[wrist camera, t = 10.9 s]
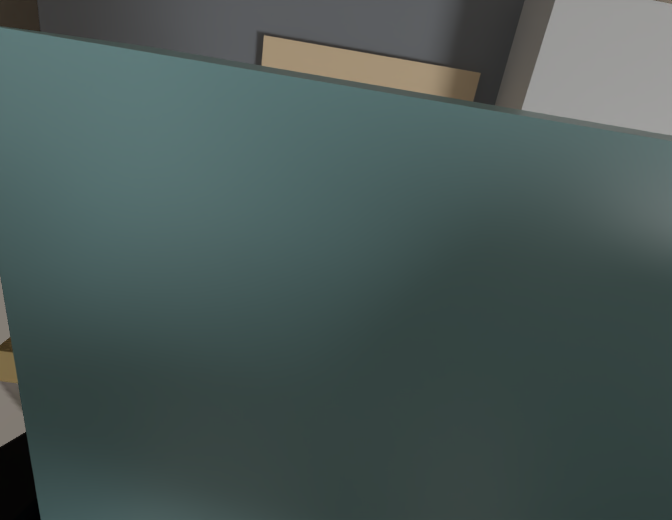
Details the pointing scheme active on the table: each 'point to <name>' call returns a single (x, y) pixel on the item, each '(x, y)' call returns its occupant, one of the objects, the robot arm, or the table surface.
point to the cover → (327, 295)
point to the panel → (423, 46)
